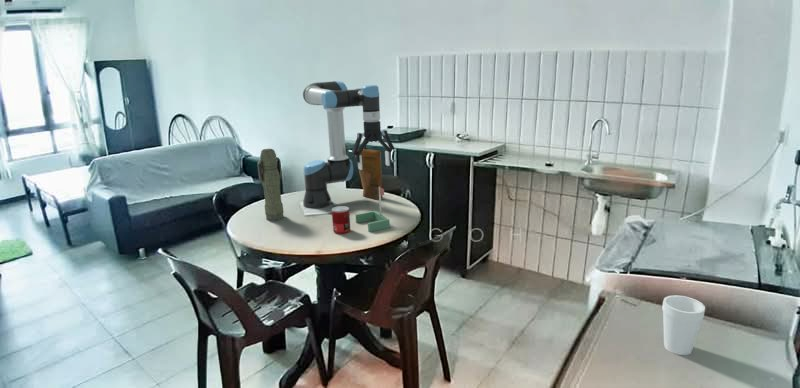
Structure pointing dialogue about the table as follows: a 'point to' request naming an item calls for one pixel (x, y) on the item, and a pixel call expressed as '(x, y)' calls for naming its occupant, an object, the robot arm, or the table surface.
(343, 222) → the canned food
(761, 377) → the table surface
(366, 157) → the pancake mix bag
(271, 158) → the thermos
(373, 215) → the green c-shaped bracket
